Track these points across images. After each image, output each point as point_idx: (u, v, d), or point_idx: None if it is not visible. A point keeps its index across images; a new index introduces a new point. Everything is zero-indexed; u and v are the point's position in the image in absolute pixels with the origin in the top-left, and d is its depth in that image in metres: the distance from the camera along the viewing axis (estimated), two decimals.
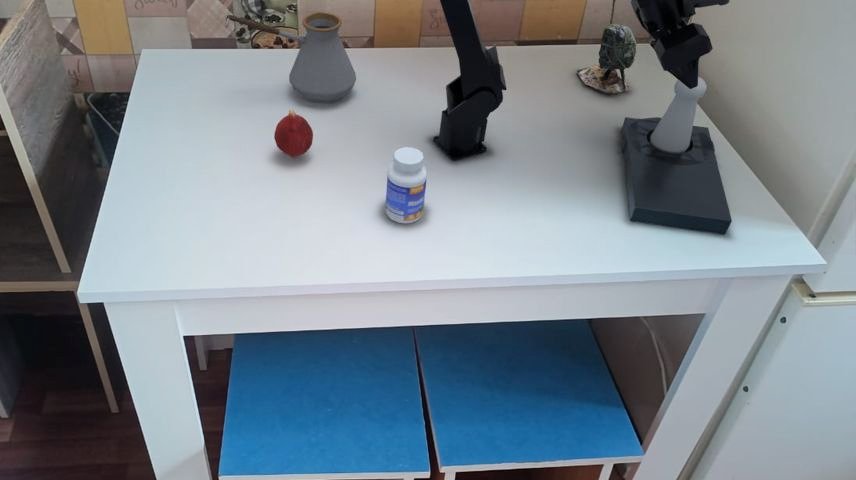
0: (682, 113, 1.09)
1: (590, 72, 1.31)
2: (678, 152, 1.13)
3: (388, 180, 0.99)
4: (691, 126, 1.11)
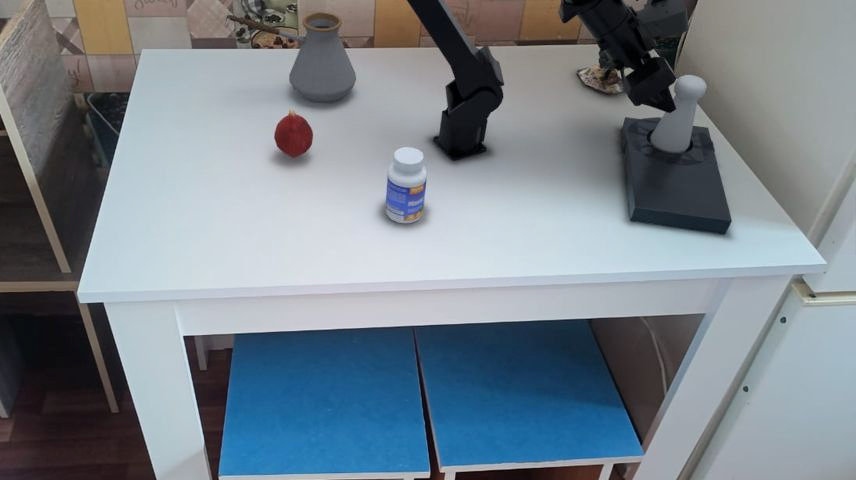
0: (681, 113, 1.09)
1: (590, 72, 1.31)
2: (678, 152, 1.13)
3: (388, 180, 0.99)
4: (691, 126, 1.11)
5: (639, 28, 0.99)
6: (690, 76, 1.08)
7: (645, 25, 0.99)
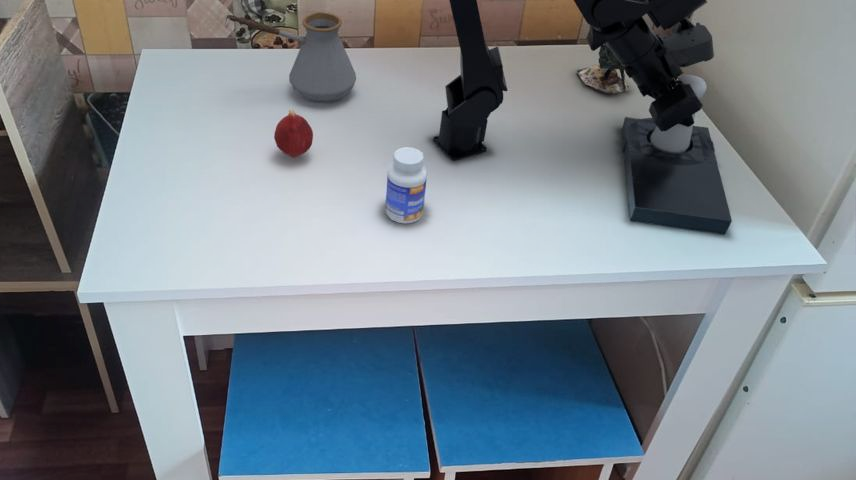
0: None
1: (590, 72, 1.31)
2: (678, 152, 1.13)
3: (388, 180, 0.99)
4: (691, 126, 1.11)
5: (666, 56, 1.02)
6: (690, 76, 1.08)
7: (672, 53, 1.02)
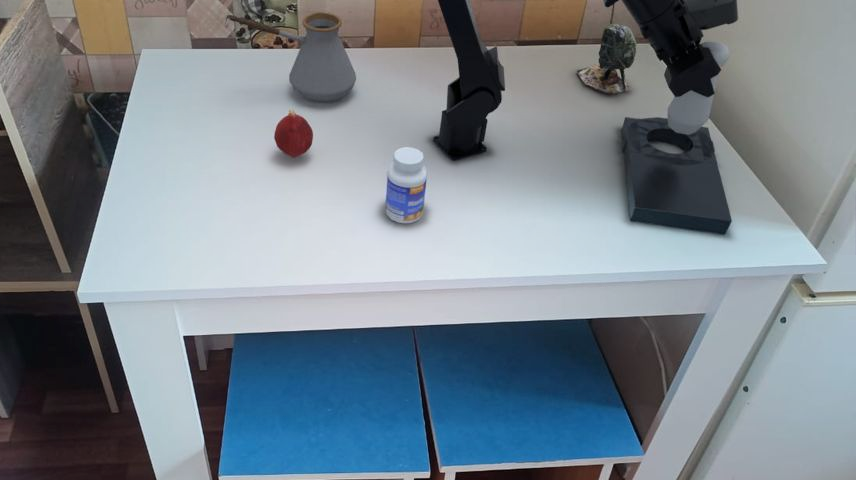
0: None
1: (590, 72, 1.31)
2: (696, 125, 1.06)
3: (388, 180, 0.99)
4: (711, 97, 1.04)
5: (685, 16, 0.96)
6: (713, 42, 1.01)
7: (692, 13, 0.96)
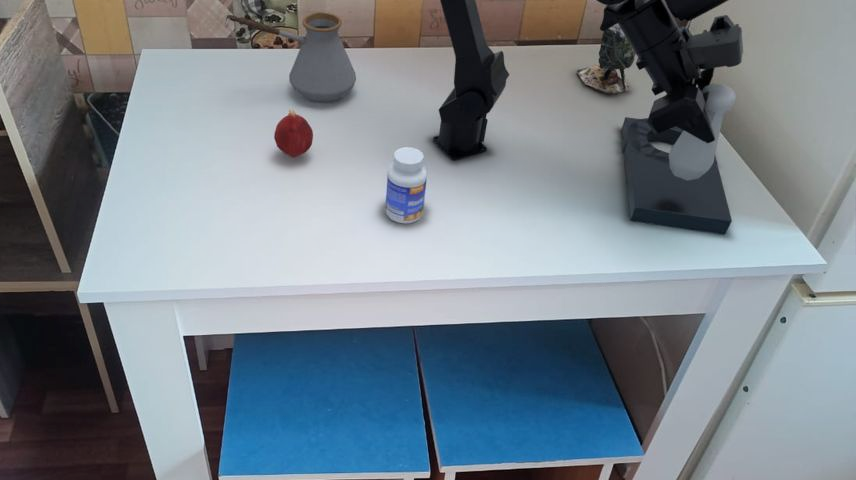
0: None
1: (590, 72, 1.31)
2: (693, 170, 0.99)
3: (388, 180, 0.99)
4: (713, 144, 0.97)
5: (681, 51, 0.91)
6: (720, 85, 0.94)
7: (689, 50, 0.90)
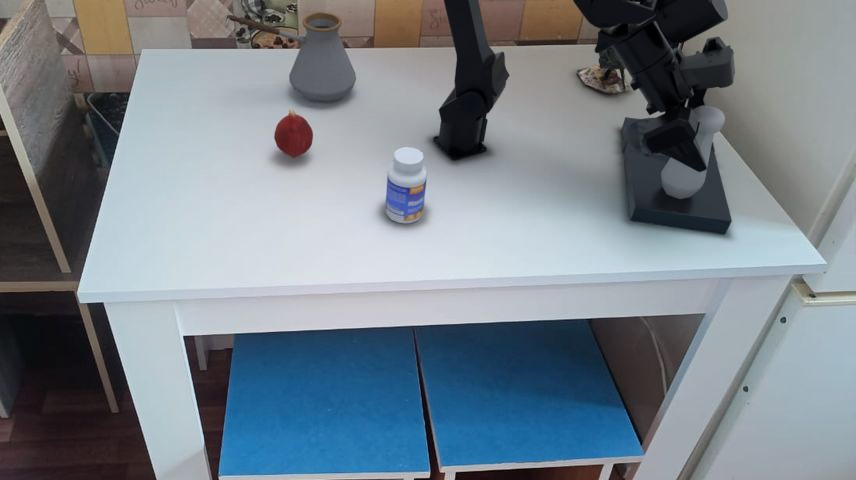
0: None
1: (590, 72, 1.31)
2: (684, 189, 1.02)
3: (388, 180, 0.99)
4: None
5: (674, 73, 0.93)
6: (710, 107, 0.97)
7: (682, 71, 0.92)
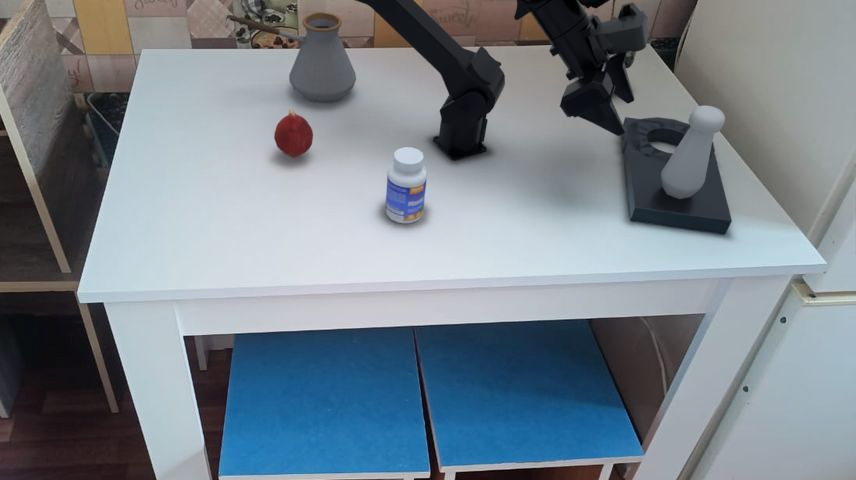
0: (692, 146, 0.98)
1: None
2: (684, 189, 1.02)
3: (388, 180, 0.99)
4: (704, 164, 1.00)
5: (590, 38, 0.95)
6: (710, 107, 0.97)
7: (597, 36, 0.95)
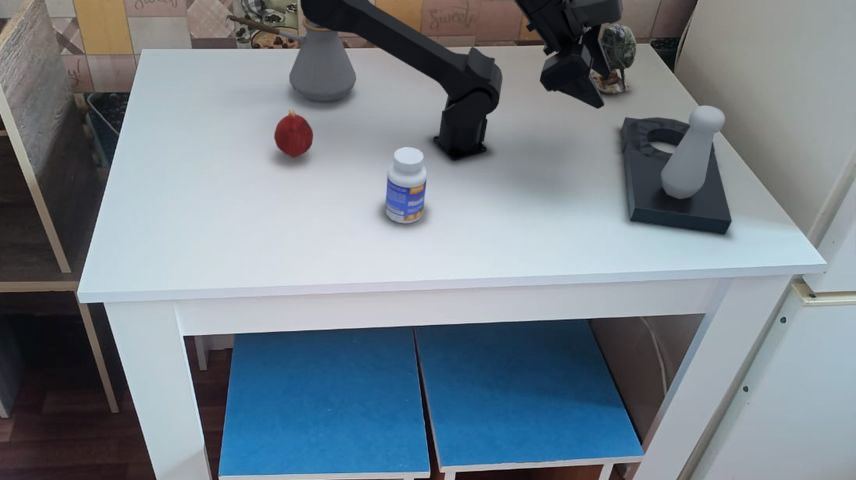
0: (692, 146, 0.98)
1: (590, 72, 1.31)
2: (684, 189, 1.02)
3: (388, 180, 0.99)
4: (704, 164, 1.00)
5: (566, 11, 0.95)
6: (710, 107, 0.97)
7: (573, 9, 0.95)
